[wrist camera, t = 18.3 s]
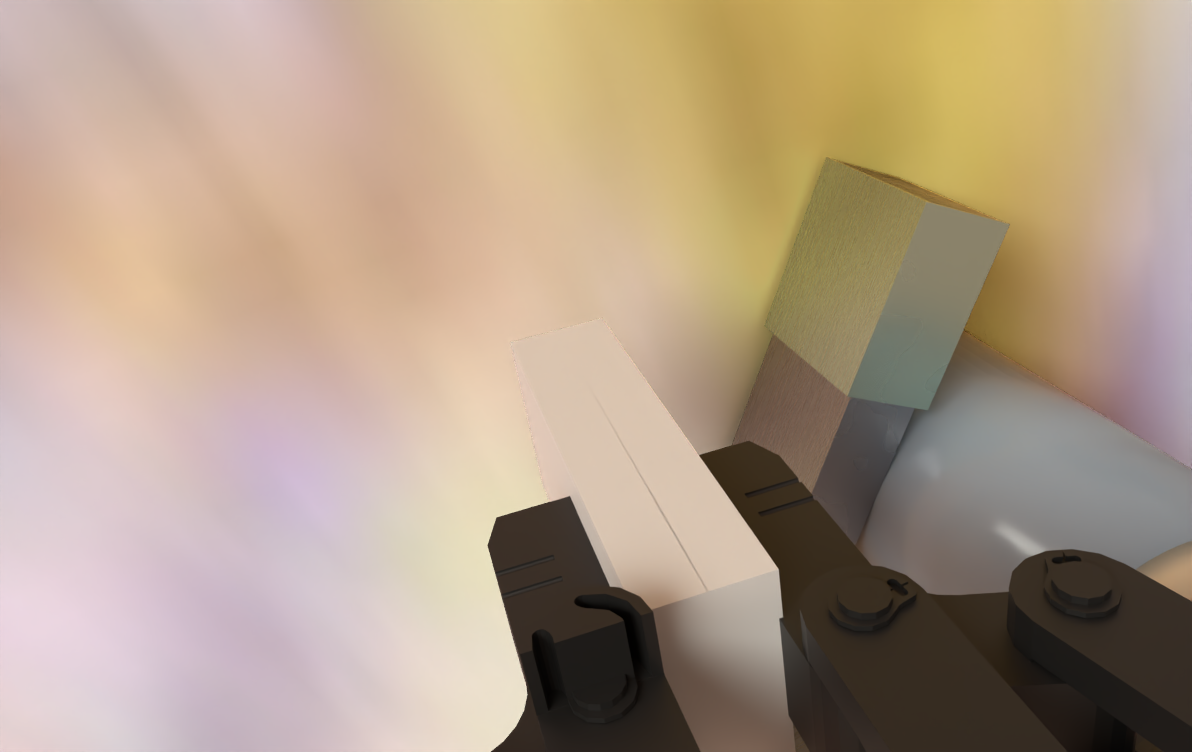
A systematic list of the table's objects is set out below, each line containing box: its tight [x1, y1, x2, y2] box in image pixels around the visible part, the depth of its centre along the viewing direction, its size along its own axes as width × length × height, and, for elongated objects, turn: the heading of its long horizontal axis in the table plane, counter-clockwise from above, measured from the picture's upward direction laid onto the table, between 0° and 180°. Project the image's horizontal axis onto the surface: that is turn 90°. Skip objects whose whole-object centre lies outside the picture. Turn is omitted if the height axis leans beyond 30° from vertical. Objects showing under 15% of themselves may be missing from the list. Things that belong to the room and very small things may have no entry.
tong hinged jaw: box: [732, 157, 1010, 545], centre depth 23 cm, size 16×2×4 cm, turn 164°
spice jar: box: [855, 330, 1192, 601], centre depth 21 cm, size 6×6×10 cm
